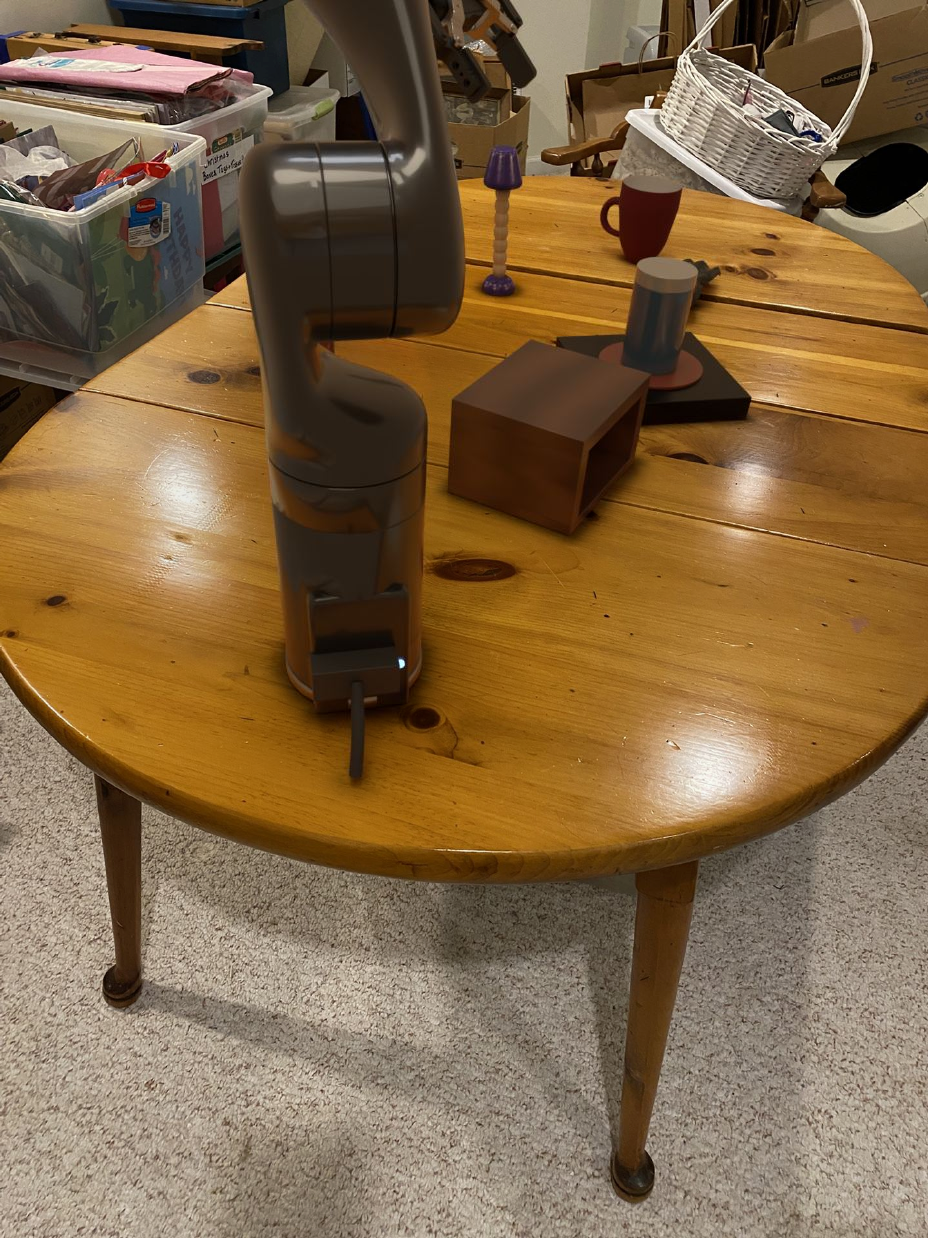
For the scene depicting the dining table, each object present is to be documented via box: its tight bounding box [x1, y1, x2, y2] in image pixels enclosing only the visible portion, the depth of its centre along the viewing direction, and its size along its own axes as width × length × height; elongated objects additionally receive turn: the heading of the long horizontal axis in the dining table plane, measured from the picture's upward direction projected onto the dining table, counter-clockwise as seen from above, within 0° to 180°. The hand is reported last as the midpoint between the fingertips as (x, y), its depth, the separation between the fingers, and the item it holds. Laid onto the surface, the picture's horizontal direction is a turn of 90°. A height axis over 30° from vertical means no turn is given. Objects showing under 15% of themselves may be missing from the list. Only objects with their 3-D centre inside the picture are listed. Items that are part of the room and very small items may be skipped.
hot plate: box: [555, 331, 753, 426], centre depth 98 cm, size 16×16×3 cm
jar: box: [621, 256, 698, 375], centre depth 94 cm, size 6×6×10 cm
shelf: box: [446, 339, 651, 537], centre depth 82 cm, size 12×14×9 cm
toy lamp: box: [481, 144, 523, 297], centre depth 112 cm, size 5×5×17 cm
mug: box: [599, 174, 684, 265], centre depth 126 cm, size 11×8×10 cm
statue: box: [682, 258, 722, 307], centre depth 116 cm, size 6×6×20 cm
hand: (506, 89), depth 81 cm, fingers open, 8 cm apart
